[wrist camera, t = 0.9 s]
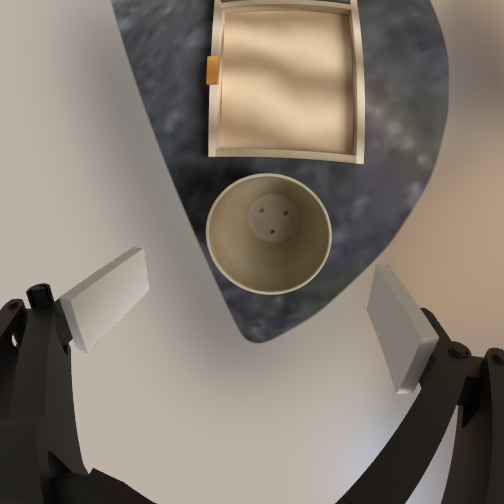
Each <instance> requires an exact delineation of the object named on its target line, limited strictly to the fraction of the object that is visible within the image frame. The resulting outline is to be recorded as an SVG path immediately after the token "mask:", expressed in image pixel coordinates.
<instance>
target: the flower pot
mask: <svg viewBox="0 0 504 504" xmlns="http://www.w3.org/2000/svg"><path fill="white" fill-rule="evenodd" d="M260 210H261V211H262V212H260ZM285 211H287V212H286V213H284V212H285ZM273 230H274V233H273ZM331 239H332V232H331V224H330V220H329V217H328V214H327V212H326V209H325V207H324V206H323V204H322V202H321V201H320V200H319V198H318V197H317V196H316V195H315V194H314V193H313V192H312V191H311V190H310V189H309V188H308V187H306V186H305V185H304V184H302V183H301V182H299V181H297V180H295V179H293V178H290V177H287V176H284V175H280V174H272V173H261V174H254V175H250V176H247V177H244V178H242V179H239V180H237V181H236V182H234V183H232V184H231V185H229V186H228V187H227V188H226V189H225V190H224V191H223V192H222V193H221V194H220V195H219V196H218V197H217V199H216V200H215V202H214V203H213V205H212V207H211V209H210V212H209V214H208V218H207V223H206V241H207V246H208V250H209V253H210V255H211V258H212V259H213V261H214V263H215V265H216V266H217V268H218V269H219V270H220V271H221V273H222V274H223V275H224V276H225V277H226V278H227V279H229V280H230V281H231V282H233V283H234V284H236V285H237V286H239V287H241V288H243V289H245V290H248V291H251V292H254V293H259V294H269V295H270V294H282V293H287V292H290V291H293V290H295V289H298V288H300V287H302V286H303V285H305V284H307V283H308V282H309V281H310V280H312V279H313V278H314V277H315V276H316V275H317V273H318V272H319V271H320V270H321V268H322V267H323V265H324V263H325V262H326V259H327V257H328V255H329V251H330V247H331Z"/></svg>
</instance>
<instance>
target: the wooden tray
mask: <svg viewBox="0 0 504 504" xmlns="http://www.w3.org/2000/svg"><path fill="white" fill-rule="evenodd" d="M206 84H207V85H210V94H209V157H282V158H301V159H316V160H329V161H340V162H349V163H359V164H363V163H364V138H365V92H364V68H363V53H362V41H361V31H360V22H359V14H358V7H357V0H215V3H214V16H213V30H212V47H211V56H208V58H207V80H206Z"/></svg>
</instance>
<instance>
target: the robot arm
mask: <svg viewBox="0 0 504 504" xmlns="http://www.w3.org/2000/svg"><path fill="white" fill-rule="evenodd" d="M148 291H149V284H148V277H147V270H146V262H145V254H144V248H132V249H130V250H129V251H127V252H126V253H124V254H122V255H121V256H119V257H118V258H116V259H115V260H113V261H112V262H110V263H109V264H108V265H106V266H104V267H103V268H101V269H100V270H98V271H97V272H95V273H94V274H92V275H91V276H89V277H88V278H86V279H85V280H83V281H82V282H81V283H79V284H78V285H76V286H75V287H74V288H72V289H71V290H69V291H68V292H67V293H65V294H64V295H62V296H61V297H60V298H59V299H58V300H56V301H55V302H54V299H53V296H52V292H51V289H50V285H48V284H45V283H43V284H37V285H35V286H32V287H31V288H29V289H28V290H27V292H26V293H27V297H28V300H29V303H30V305H31V309H26V308H25V305H24V302H23V300H22V299H12V300H10V301H9V302H8V303H6V304H5V305H4V306H3V307H2V309H1V310H0V504H156V503H154V502H152V501H150V500H149V499H147V498H146V497H144V496H143V495H141V494H140V493H138V492H137V491H135V490H134V489H132V488H131V487H129V486H128V485H127V484H125V483H124V482H122V481H120V480H117V479H115V478H113V477H111V476H109V475H107V474H104V473H103V472H101V471H98V470H96V469H95V468H93V469H92V470H91V472H90V474H88V472H87V470H86V469H85V467H84V464H83V461H82V457H81V452H80V447H79V441H78V435H77V428H76V421H75V413H74V403H73V392H72V375H71V348H70V345H69V342H70V341H71V340H72V339H73V341H74V343H75V346H76V348H77V349H78V350H81V351H84V352H87V353H88V352H89V351H90V350H91V349H92V348H93V347H94V346H95V345H96V344H97V343H98V342H99V341H100V340H101V338H103V336H104V335H105V334H106V333H107V332H108V331H109V330H110V329H111V328H112V327H113V326H114V325H115V324H116V323H117V322H118V321H119V320H120V319H121V318H122V317H123V316H124V315H125V314H126V313H127V312H128V311H129V310H130V309H131V308H132V307H133V306H134V305H135V304H136V303H137V302H138V301H139V300H140V299H141V298H142V297H143V296H144V295H145V294H146V293H147V292H148ZM367 311H368V313H369V316H370V318H371V321H372V323H373V326H374V329H375V331H376V334H377V337H378V339H379V342H380V345H381V348H382V350H383V354H384V356H385V359H386V362H387V365H388V368H389V371H390V374H391V377H392V380H393V384H394V387H395V390H396V393H397V394H403V393H412V392H414V390H415V388H416V386H417V384H418V382H419V383H420V386H421V388H422V389H421V391H420V393H419V394H418V396H417V398H416V400H415V401H414V403H413V405H412V406H411V408H410V410H409V411H408V413H407V415H406V416H405V418H404V419H403V421H402V422H401V424H400V425H399V427H398V429H397V430H396V431H395V433H394V434H393V436H392V437H391V438H390V440H389V441H388V443H387V444H386V446H385V447H384V448H383V449H382V451H381V452H380V453H379V455H378V456H377V457H376V459H375V460H374V461H373V462H372V464H371V465H370V466H369V467H368V468H367V470H366V471H365V472H364V473H363V474H362V476H361V477H360V478H359V479H358V480H357V481H356V482H355V483H354V485H353V486H352V487H351V488H350V489H349V490H348V491H347V492H346V493H345V494H344V495H343V496H342V497H341V498H340V499H339V500H338V501H337V502H336V503H335V504H405V503H406V501H407V500H408V498H409V497H410V495H411V494H412V492H413V491H414V489H415V488H416V486H417V484H418V483H419V481H420V479H421V478H422V476H423V475H424V473H425V471H426V469H427V467H428V466H429V464H430V462H431V460H432V458H433V456H434V454H435V452H436V450H437V448H438V446H439V444H440V442H441V440H442V438H443V436H444V434H445V431H446V429H447V427H448V424H449V422H450V420H451V417H452V415H453V412H454V410H455V407H456V405H458V417H457V427H456V435H455V442H454V449H453V455H452V460H451V466H450V470H449V475H448V479H447V483H446V488H445V491H444V495H443V498H442V502H441V504H504V351H503V350H502V349H499V348H490V349H489V350H488V351H487V352H486V354H485V356H484V358H482V357H475V356H471V352H470V350H469V349H468V348H467V347H466V346H465V345H463V344H461V343H458V342H454V341H451V340H450V338H449V337H448V335H447V334H446V332H445V331H444V329H443V328H442V327H441V325H440V323H439V322H438V321H437V319H436V318H435V316H434V315H433V313H431V312H430V311H429V310H427V309H426V308H420V307H419V306H418V304H417V303H416V302H415V300H414V299H413V297H412V296H411V294H410V293H409V292H408V290H407V289H406V288H405V286H404V285H403V283H402V282H401V281H400V279H399V278H398V277H397V275H396V274H395V273H394V271H393V270H392V269H391V267H390V266H389V265H381V264H379V265H378V264H376V267H375V273H374V278H373V283H372V288H371V293H370V297H369V301H368V306H367ZM12 335H13V336H14V338H15V340H16V343H17V344H16V346H14V345H13V342H12Z"/></svg>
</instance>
